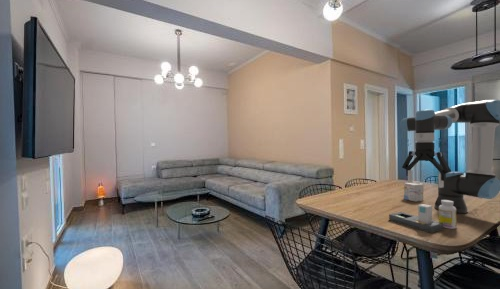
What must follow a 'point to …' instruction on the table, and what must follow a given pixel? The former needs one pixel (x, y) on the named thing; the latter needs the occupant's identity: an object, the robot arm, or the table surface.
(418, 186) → the ink box
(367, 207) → the table surface
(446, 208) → the supplement bottle
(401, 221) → the panel
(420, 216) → the plug
